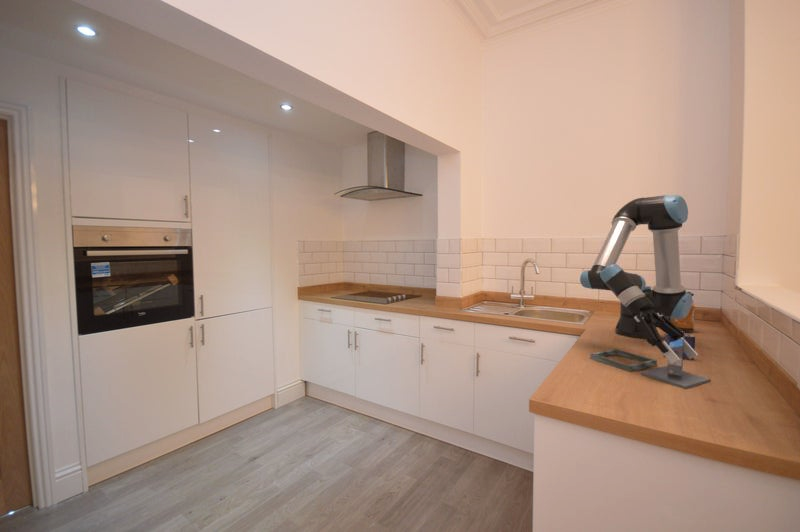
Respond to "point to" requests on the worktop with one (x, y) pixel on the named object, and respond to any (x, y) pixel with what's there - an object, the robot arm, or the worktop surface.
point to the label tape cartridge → (678, 350)
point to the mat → (676, 377)
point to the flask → (688, 338)
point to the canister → (686, 320)
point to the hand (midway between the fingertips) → (685, 359)
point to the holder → (644, 363)
